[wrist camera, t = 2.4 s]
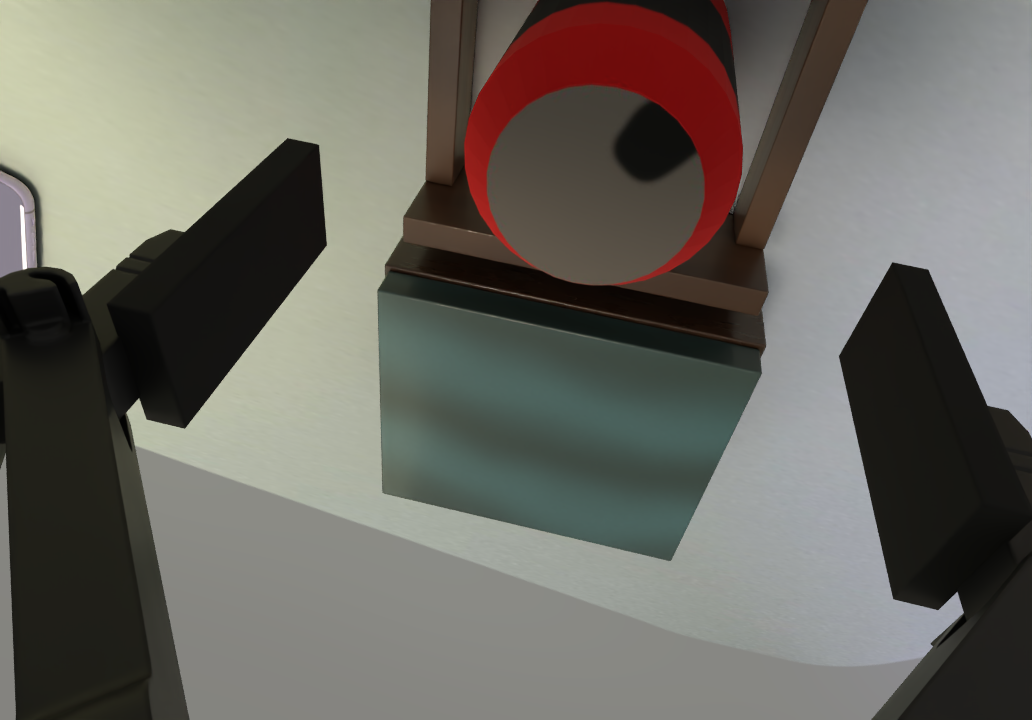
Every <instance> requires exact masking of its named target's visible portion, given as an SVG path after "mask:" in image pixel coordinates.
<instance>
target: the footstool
mask: <svg viewBox="0 0 1032 720" xmlns="http://www.w3.org/2000/svg"><path fill="white" fill-rule="evenodd" d="M378 330H379V370H380V410H381V450H382V490H383V493H384V494H388V495H393V496H397V497H401V498H405V499H410V500H414V501H418V502H422V503H426V504H431V505H435V506H439V507H443V508H448V509H452V510H456V511H460V512H465V513H469V514H473V515H477V516H482V517H486V518H490V519H494V520H498V521H503V522H507V523H511V524H515V525H520V526H524V527H528V528H532V529H537V530H541V531H545V532H549V533H553V534H558V535H562V536H566V537H570V538H575V539H579V540H583V541H587V542H592V543H596V544H600V545H604V546H609V547H613V548H617V549H621V550H625V551H630V552H634V553H638V554H642V555H647V556H651V557H655V558H659V559H664V560H668V561H671V560H672V558H673V556H674V553H675V551H676V549H677V547H678V545H679V543H680V541H681V539H682V537H683V535H684V533H685V531H686V529H687V527H688V525H689V523H690V520H691V518H692V516H693V514H694V512H695V510H696V508H697V506H698V504H699V502H700V500H701V498H702V496H703V494H704V492H705V490H706V487H707V485H708V483H709V481H710V479H711V477H712V475H713V473H714V471H715V469H716V467H717V465H718V463H719V461H720V459H721V457H722V454H723V452H724V450H725V448H726V446H727V444H728V442H729V440H730V438H731V436H732V434H733V432H734V430H735V428H736V426H737V424H738V421H739V419H740V417H741V415H742V413H743V411H744V409H745V407H746V405H747V403H748V401H749V399H750V397H751V395H752V393H753V391H754V388H755V386H756V384H757V382H758V380H759V378H760V376H761V374H762V370H761V360H760V358H761V356H762V354H763V352H764V350H765V348H766V341H765V332H764V323H763V314H762V310H761V311H760V313H759V315H758V316H755V315H750V314H745V313H741V312H736V311H731V310H726V309H722V308H717V307H712V306H707V305H702V304H698V303H693V302H688V301H683V300H679V299H674V298H669V297H664V296H660V295H655V294H650V293H645V292H640V291H636V290H631V289H626V288H621V287H617V286H612V285H585V284H578V283H572V282H569V281H565V280H562V279H559V278H556V277H553V276H551V275H549V274H547V273H545V272H543V271H540V270H536V269H531V268H526V267H521V266H517V265H512V264H507V263H502V262H497V261H493V260H488V259H483V258H478V257H474V256H469V255H464V254H459V253H455V252H450V251H445V250H440V249H436V248H431V247H426V246H421V245H416V244H412V243H407V242H404V241H403V236H402V238H401V240H400V241H399V243H398V245H397V246H396V248H395V250H394V251H393V253H392V255H391V256H390V258H389V259H388V261H387V263H386V264H385V279H384V280H383V282H382V284H381V286H380V287H379V289H378Z"/></svg>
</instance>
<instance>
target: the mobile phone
mask: <svg viewBox="0 0 1032 720" xmlns="http://www.w3.org/2000/svg"><path fill="white" fill-rule="evenodd" d="M27 268H37V254H36V228H35V204H34V198H33V196H32V194H31V192H30V190H29V189H28V188H27V187H26V186H25V185H24V184H23V183H22V182H21V181H19V180H18V179H16V178H14V177H12V176H10V175H8V174H6V173H4V172H2V171H0V278H1V277H3V276H5V275H7V274H9V273H12V272H15V271H19V270H23V269H27Z"/></svg>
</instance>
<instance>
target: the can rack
mask: <svg viewBox="0 0 1032 720" xmlns="http://www.w3.org/2000/svg"><path fill="white" fill-rule="evenodd" d="M867 2H868V0H812V2H811V4H810V7H809V10H808V13H807V15H806V18H805V21H804V23H803V26H802V29H801V32H800V34H799V37H798V40H797V42H796V45H795V48H794V51H793V53H792V56H791V59H790V61H789V64H788V67H787V70H786V72H785V75H784V78H783V80H782V83H781V86H780V89H779V91H778V94H777V97H776V99H775V102H774V105H773V108H772V110H771V113H770V116H769V118H768V121H767V124H766V127H765V129H764V132H763V135H762V137H761V140H760V143H759V145H758V148H757V151H756V154H755V156H754V159H753V162H752V164H751V167H750V170H749V173H748V175H747V178H746V181H745V183H744V186H743V189H742V192H741V194H740V197H739V200H738V202H737V205H736V208H735V211H734V213H733V215H730V214H728V215H727V217H726V219H725V221H724V223H723V224H722V225H721V227H720V228H719V229H718V231H717V232H716V233H715V234H714V236H713V237H712V238H711V240H710V241H709V242H708V243H707V244H706V245H705V246H704V247H702V248H701V249H700V250H699V251H698V252H697V253H696V254H694V255H693V256H692V257H691V258H690V259H688V260H687V261H685V262H683V263H682V264H680V265H678V266H677V267H675V268H673V269H672V270H670V271H668V272H666V273H663V274H660V275H658V276H655V277H652V278H650V279H647V280H643V281H638V282H633V283H628V284H623V285H612V286H617V287H621V288H626V289H631V290H636V291H640V292H645V293H650V294H655V295H660V296H664V297H669V298H674V299H679V300H683V301H688V302H693V303H698V304H702V305H707V306H712V307H717V308H722V309H726V310H731V311H736V312H741V313H745V314H750V315H755V316H758V315H759V313H760V311H761V309H762V306H763V304H764V302H765V300H766V298H767V295H768V293H769V291H768V283H767V275H766V267H765V259H764V252H763V249H764V248H765V246H766V243H767V241H768V238H769V236H770V234H771V231H772V229H773V227H774V224H775V222H776V219H777V217H778V215H779V212H780V210H781V207H782V205H783V203H784V200H785V198H786V195H787V193H788V191H789V188H790V186H791V183H792V181H793V179H794V176H795V174H796V172H797V169H798V167H799V164H800V162H801V160H802V157H803V155H804V152H805V150H806V148H807V145H808V143H809V140H810V138H811V136H812V133H813V131H814V129H815V126H816V124H817V121H818V119H819V117H820V114H821V112H822V109H823V107H824V105H825V102H826V100H827V97H828V95H829V93H830V90H831V88H832V86H833V83H834V81H835V78H836V76H837V74H838V71H839V69H840V66H841V64H842V62H843V59H844V57H845V54H846V52H847V50H848V47H849V45H850V43H851V40H852V38H853V35H854V33H855V31H856V28H857V26H858V23H859V21H860V19H861V16H862V14H863V11H864V9H865V7H866V4H867ZM477 8H478V0H431V10H430V45H429V79H428V114H427V149H426V182H425V184H424V185H423V187H422V188H421V190H420V191H419V193H418V195H417V196H416V198H415V199H414V201H413V203H412V204H411V206H410V207H409V209H408V210H407V212H406V214H405V215H404V217H403V241H404V242H407V243H412V244H416V245H421V246H426V247H431V248H436V249H440V250H445V251H450V252H455V253H459V254H464V255H469V256H474V257H478V258H483V259H488V260H493V261H497V262H502V263H507V264H512V265H517V266H521V267H526V268H531V269H536V270H539V269H537V268H535V267H533V266H531V265H529V264H528V263H526V262H525V261H524V260H522V259H521V258H519V257H518V256H517V255H515V254H514V253H512V252H511V251H510V250H509V249H508V248H507V247H506V246H505V245H504V244H503V243H502V242H501V241H500V240H499V239H498V238H497V237H496V236H495V235H494V234H493V232H492V231H491V229H490V228H489V226H488V225H487V224H486V222H485V221H484V219H483V218H482V216H481V215H480V213H479V211H478V208H477V206H476V204H475V201H474V199H473V197H472V195H471V192H470V188H469V184H468V180H467V175H466V171H465V151H464V142H465V137H466V131H467V126H468V120H469V117H470V107H471V93H472V79H473V65H474V51H475V37H476V22H477ZM540 271H541V270H540Z"/></svg>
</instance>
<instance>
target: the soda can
mask: <svg viewBox="0 0 1032 720" xmlns="http://www.w3.org/2000/svg"><path fill="white" fill-rule="evenodd" d="M464 151H465V171H466V175H467V180H468V184H469V188H470V192H471V195H472V197H473V199H474V201H475V204H476V206H477V208H478V211H479V213H480V215H481V216H482V218H483V219H484V221H485V222H486V224H487V225H488V226H489V228H490V229H491V231H492V232H493V234H494V235H495V236H496V237H497V238H498V239H499V240H500V241H501V242H502V243H503V244H504V245H505V246H506V247H507V248H508V249H509V250H510V251H511V252H512V253H514V254H515V255H517V256H518V257H519V258H521V259H522V260H524V261H525V262H526V263H528V264H529V265H531V266H533V267H535V268H537V269H539V270H541V271H543V272H545V273H547V274H549V275H551V276H553V277H556V278H559V279H562V280H565V281H569V282H572V283H578V284H585V285H623V284H628V283H633V282H638V281H643V280H647V279H650V278H652V277H655V276H658V275H660V274H663V273H666V272H668V271H670V270H672V269H673V268H675V267H677V266H678V265H680V264H682V263H683V262H685V261H687V260H688V259H690V258H691V257H692V256H693V255H694V254H696V253H697V252H698V251H699V250H700V249H701V248H702V247H704V246H705V245H706V244H707V243H708V242H709V241H710V240H711V238H712V237H713V236H714V234H715V233H716V232H717V231H718V229H719V228H720V227H721V225H722V224H723V223H724V221H725V219H726V217H727V215H728V213H729V211H730V209H731V207H732V205H733V203H734V201H735V198H736V195H737V191H738V187H739V183H740V179H741V175H742V156H743V144H742V135H741V125H740V116H739V106H738V97H737V87H736V77H735V68H734V58H733V49H732V39H731V30H730V24H729V18H728V12H727V8H726V5H725V3H724V0H539V1H538V2H537V4H536V5H535V7H534V8H533V10H532V12H531V13H530V15H529V16H528V18H527V19H526V21H525V23H524V24H523V26H522V27H521V29H520V30H519V32H518V33H517V35H516V37H515V38H514V40H513V41H512V43H511V44H510V46H509V48H508V49H507V51H506V52H505V54H504V55H503V57H502V58H501V60H500V62H499V63H498V65H497V66H496V68H495V69H494V71H493V73H492V74H491V76H490V77H489V79H488V80H487V82H486V84H485V85H484V87H483V88H482V90H481V91H480V93H479V95H478V97H477V100H476V102H475V105H474V107H473V109H472V112H471V114H470V117H469V120H468V126H467V131H466V137H465V142H464Z"/></svg>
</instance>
